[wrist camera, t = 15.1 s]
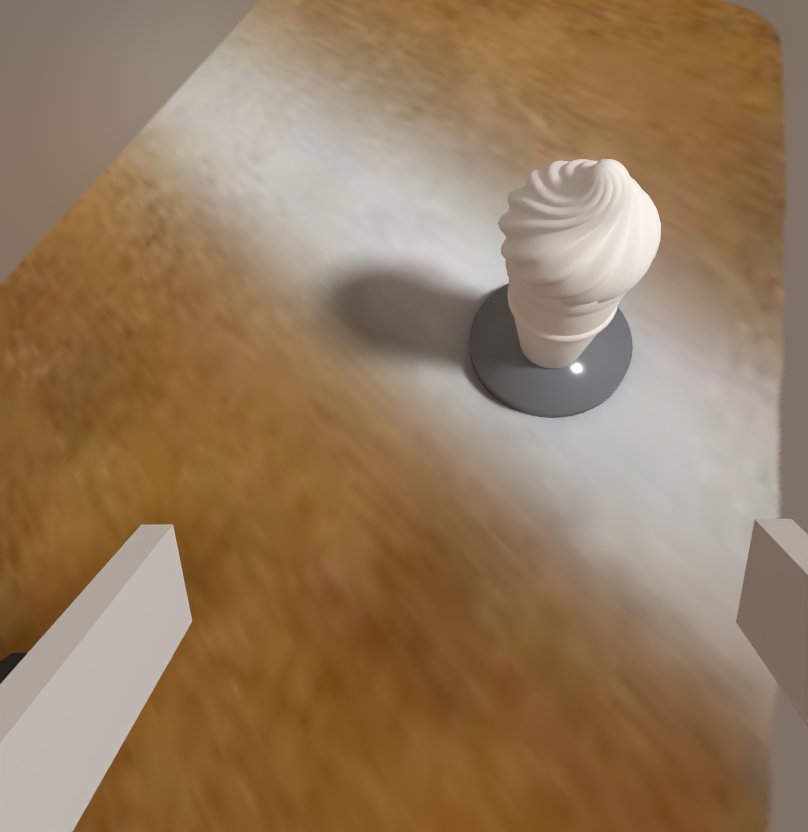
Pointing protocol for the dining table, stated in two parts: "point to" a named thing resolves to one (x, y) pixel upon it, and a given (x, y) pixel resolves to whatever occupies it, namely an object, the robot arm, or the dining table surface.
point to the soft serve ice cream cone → (574, 254)
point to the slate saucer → (541, 386)
